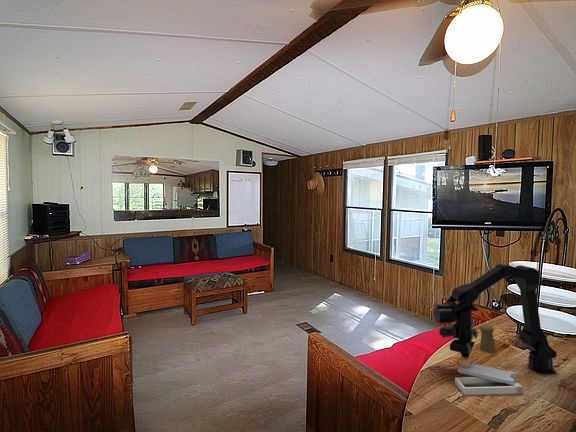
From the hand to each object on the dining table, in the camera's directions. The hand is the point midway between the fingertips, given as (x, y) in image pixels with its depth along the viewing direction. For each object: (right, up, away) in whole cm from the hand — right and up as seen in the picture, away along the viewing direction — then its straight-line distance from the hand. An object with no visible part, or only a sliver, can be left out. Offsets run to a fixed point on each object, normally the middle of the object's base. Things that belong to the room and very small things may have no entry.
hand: (465, 361), depth 122 cm
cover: (+4, -2, -7) cm, 8 cm away
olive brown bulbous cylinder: (+20, -3, +17) cm, 27 cm away
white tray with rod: (+2, -5, -11) cm, 12 cm away
